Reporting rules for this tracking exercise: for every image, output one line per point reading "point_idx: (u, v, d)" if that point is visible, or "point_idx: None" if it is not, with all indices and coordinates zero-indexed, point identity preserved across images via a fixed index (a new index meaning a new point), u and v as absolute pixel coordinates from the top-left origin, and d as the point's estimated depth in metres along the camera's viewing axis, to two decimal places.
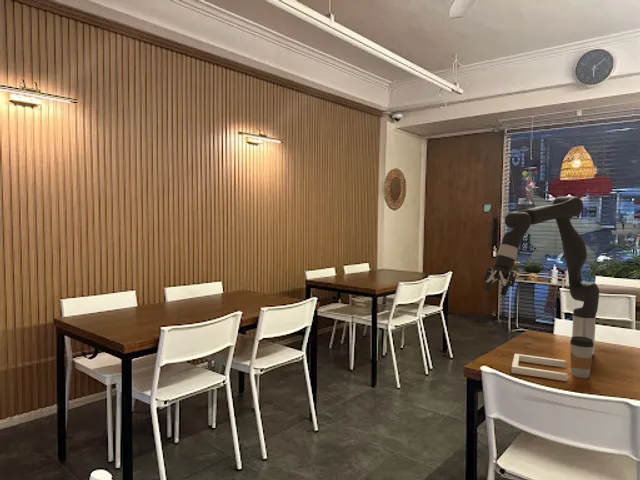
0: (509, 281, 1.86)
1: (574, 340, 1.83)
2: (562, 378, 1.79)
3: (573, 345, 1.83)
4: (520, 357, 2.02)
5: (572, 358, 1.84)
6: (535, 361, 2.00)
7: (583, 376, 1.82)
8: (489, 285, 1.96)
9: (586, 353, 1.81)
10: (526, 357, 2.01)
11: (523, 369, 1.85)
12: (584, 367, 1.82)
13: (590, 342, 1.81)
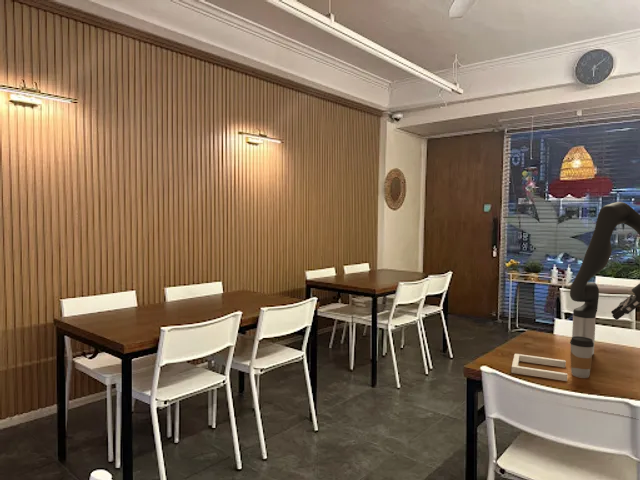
0: None
1: (574, 340, 1.83)
2: (562, 378, 1.79)
3: (573, 345, 1.83)
4: (520, 357, 2.02)
5: (572, 358, 1.84)
6: (535, 361, 2.00)
7: (583, 376, 1.82)
8: None
9: (586, 353, 1.81)
10: (526, 357, 2.01)
11: (523, 369, 1.85)
12: (584, 367, 1.82)
13: (590, 342, 1.81)
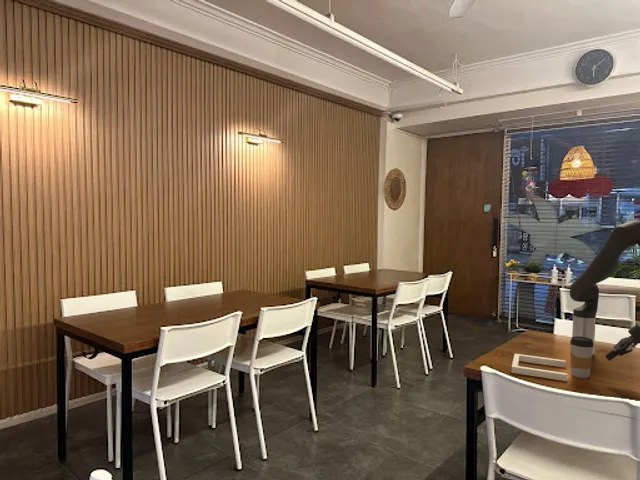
0: None
1: (574, 340, 1.83)
2: (562, 378, 1.79)
3: (573, 345, 1.83)
4: (520, 357, 2.02)
5: (572, 358, 1.84)
6: (535, 361, 2.00)
7: (583, 376, 1.82)
8: None
9: (586, 353, 1.81)
10: (526, 357, 2.01)
11: (523, 369, 1.85)
12: (584, 367, 1.82)
13: (590, 342, 1.81)
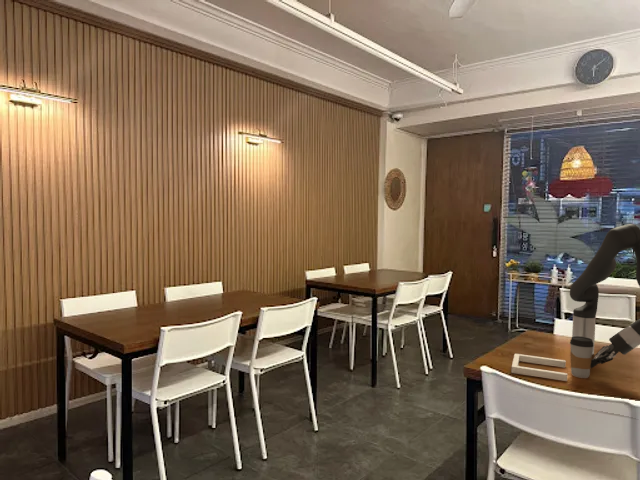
0: None
1: (574, 340, 1.83)
2: (562, 378, 1.79)
3: (573, 345, 1.83)
4: (520, 357, 2.02)
5: (572, 358, 1.84)
6: (535, 361, 2.00)
7: (583, 376, 1.82)
8: None
9: (586, 353, 1.81)
10: (526, 357, 2.01)
11: (523, 369, 1.85)
12: (584, 367, 1.82)
13: (590, 342, 1.81)
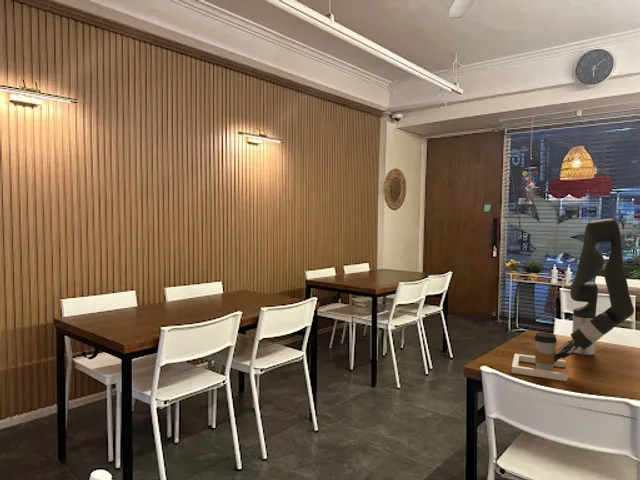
0: None
1: (537, 336, 1.89)
2: (562, 378, 1.79)
3: (536, 341, 1.89)
4: (520, 357, 2.02)
5: (536, 354, 1.90)
6: (535, 361, 2.00)
7: None
8: None
9: (548, 349, 1.86)
10: (526, 357, 2.01)
11: (523, 369, 1.85)
12: (546, 362, 1.87)
13: (552, 338, 1.86)
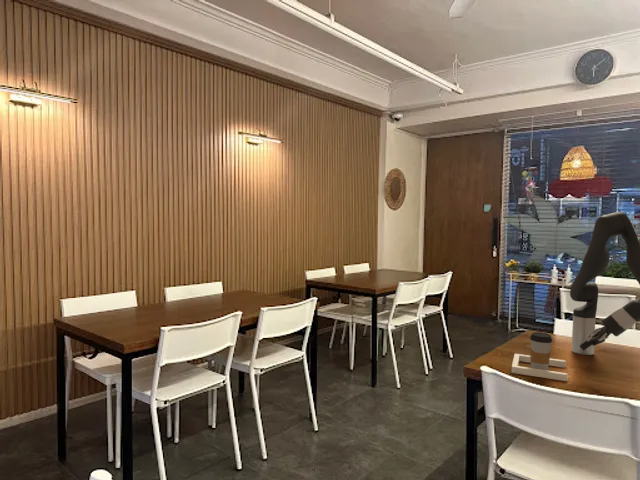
0: None
1: (532, 335, 1.89)
2: (562, 378, 1.79)
3: (531, 340, 1.89)
4: (520, 357, 2.02)
5: (531, 353, 1.90)
6: None
7: None
8: None
9: (543, 349, 1.86)
10: (526, 357, 2.01)
11: (523, 369, 1.85)
12: (541, 362, 1.87)
13: (547, 338, 1.86)
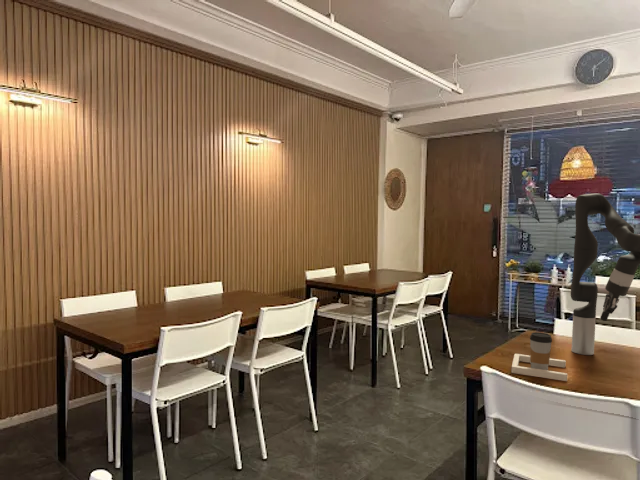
0: None
1: (532, 335, 1.89)
2: (562, 378, 1.79)
3: (531, 340, 1.89)
4: (520, 357, 2.02)
5: (531, 353, 1.90)
6: None
7: None
8: None
9: (543, 349, 1.86)
10: (526, 357, 2.01)
11: (523, 369, 1.85)
12: (541, 362, 1.87)
13: (547, 338, 1.86)
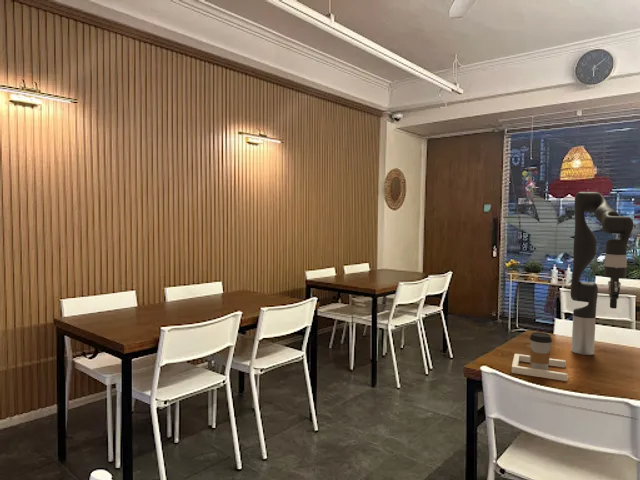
0: None
1: (532, 336, 1.89)
2: (562, 378, 1.79)
3: (531, 340, 1.89)
4: (520, 357, 2.02)
5: (531, 353, 1.90)
6: None
7: None
8: None
9: (542, 349, 1.86)
10: (526, 357, 2.01)
11: (523, 369, 1.85)
12: (541, 362, 1.87)
13: (547, 338, 1.86)
